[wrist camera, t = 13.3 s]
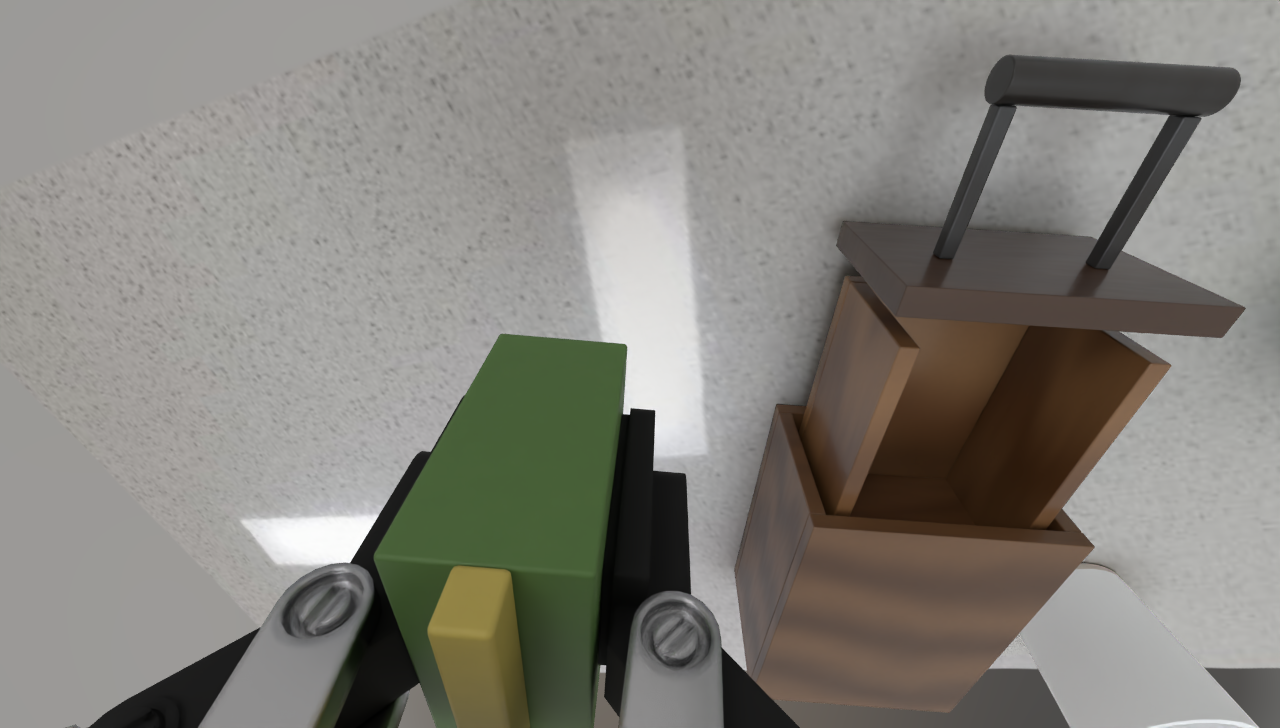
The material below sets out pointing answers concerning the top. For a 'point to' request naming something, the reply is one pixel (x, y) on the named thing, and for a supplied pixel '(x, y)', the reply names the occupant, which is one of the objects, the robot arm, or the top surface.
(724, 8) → the top surface
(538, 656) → the green sponge
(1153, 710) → the mug
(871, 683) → the cabinet
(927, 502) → the drawer
